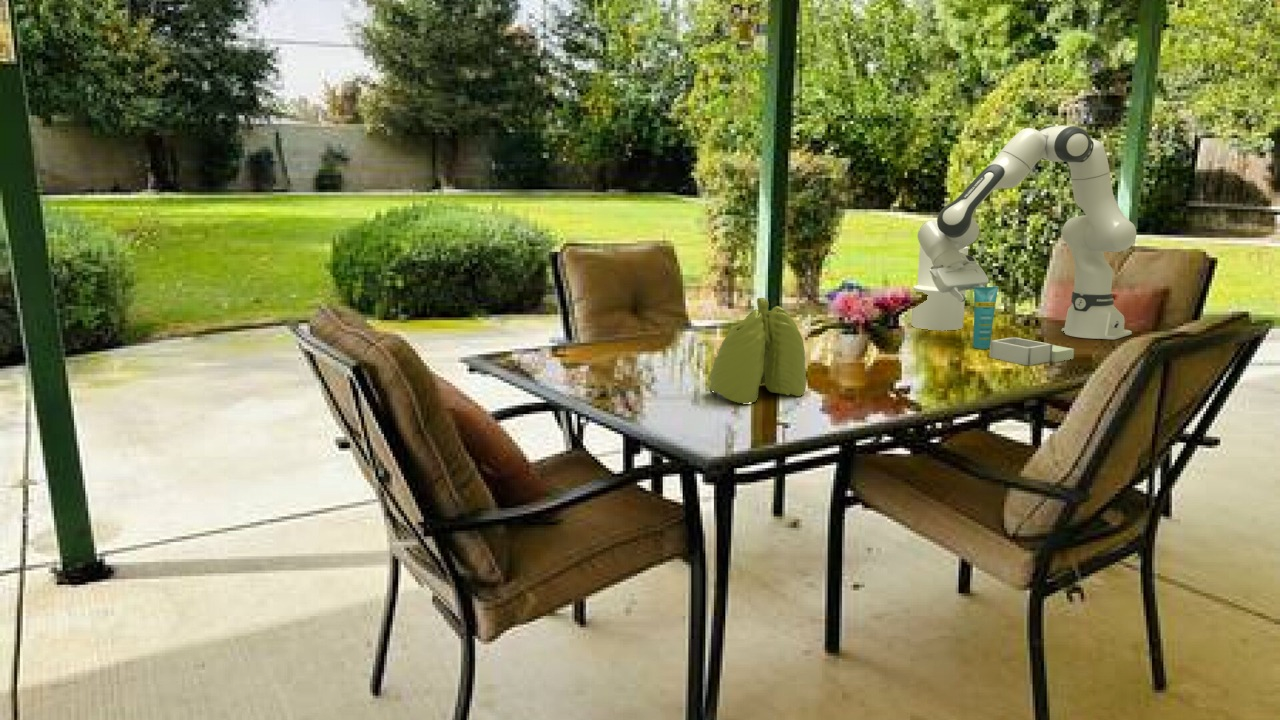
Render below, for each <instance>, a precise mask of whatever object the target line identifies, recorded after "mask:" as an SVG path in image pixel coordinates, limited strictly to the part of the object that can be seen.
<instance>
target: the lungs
mask: <svg viewBox="0 0 1280 720" xmlns="http://www.w3.org/2000/svg"><path fill="white" fill-rule="evenodd" d="M769 303H770V302H769V300H768V299H766V298H765V297H757V299H756V305H757V309H753V310H752V311H751V312H749V314H747V316H746V317H745V318H744V319H743V320H742V321H741V322H739V323H738V324H736V325H734V326H732V327H731V328H729V331H728V333H727V334H726V336H725V338H724V339H723V341H722V343H721V346H720V348H719V350H718V352H717V356H716V357H715V359H714V362H713V364H712V370H711V371H710V374H709V377H710V385H709V390H708V391H709V392H710V393H711V392H712V391H714V392H715V393H718V394H719V395H720V396H722V397H723V398H724V399H727V400H729V401H731V402H735V403H736V402H737V404H740V403H749V402H753V401H756V400H757V398H759V388H760V386H761V384H760V383H764V386H765V388H766V390H767V391H769V392H770V393H775V394H781V395H782V394H783V395H786V396H790V395H793V396H795V397H797V396H801V395H802V396H804V395H805V393H806V389H807V379H806V377H807V376H806V370H807V369H806V352H805V351H806V349H805V344H804V339H803V336H802V333H801V332H800V330H799V328H798V326H797V324H796V322H795V320H794V319H793V318H792V317H791V315H790V314H789V313H788V312H787V310H786V309H784V308H783V307H781V306H779V305H776V306H774V307H772V309H771V310H769V306H770V304H769ZM803 394H804V395H803ZM802 396H801V397H802ZM757 401H758V400H757Z"/></svg>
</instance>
